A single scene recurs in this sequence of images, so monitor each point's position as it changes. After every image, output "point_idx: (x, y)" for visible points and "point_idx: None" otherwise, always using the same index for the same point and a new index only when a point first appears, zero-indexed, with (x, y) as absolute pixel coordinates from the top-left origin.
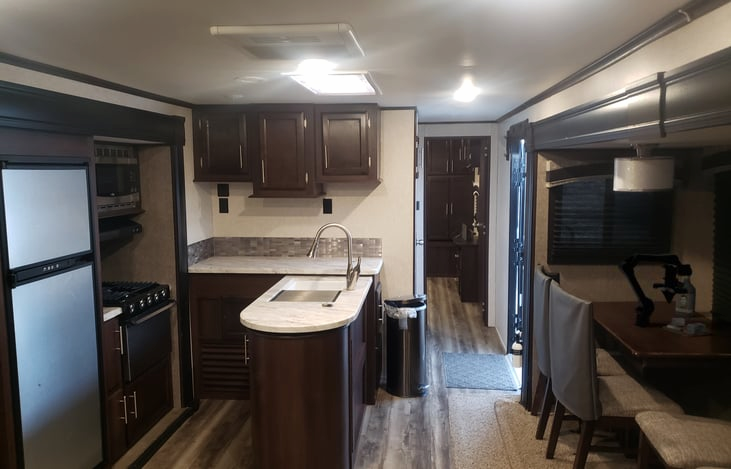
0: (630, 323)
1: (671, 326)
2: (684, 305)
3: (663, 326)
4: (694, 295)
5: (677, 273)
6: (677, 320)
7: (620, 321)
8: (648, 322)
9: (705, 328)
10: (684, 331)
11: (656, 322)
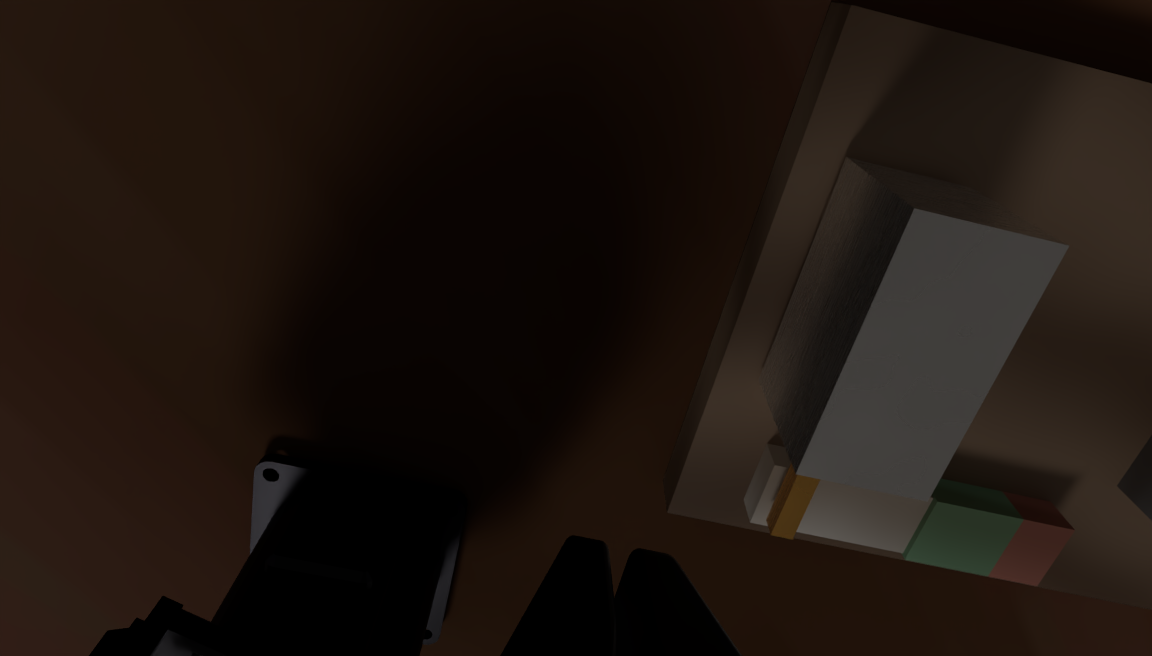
0: (181, 578)
1: (841, 533)
2: None
3: (683, 513)
4: None
5: None
6: (936, 456)
7: (25, 595)
8: (403, 541)
9: None
10: (1078, 517)
11: (301, 146)
